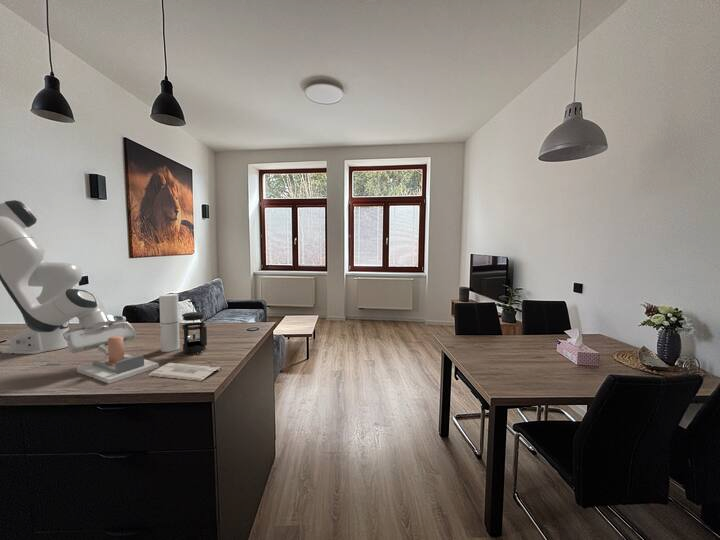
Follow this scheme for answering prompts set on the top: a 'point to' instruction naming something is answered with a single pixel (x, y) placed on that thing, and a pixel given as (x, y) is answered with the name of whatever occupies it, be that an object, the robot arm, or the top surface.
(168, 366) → the newspaper
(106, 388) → the top surface
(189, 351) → the french press
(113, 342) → the knob plunger
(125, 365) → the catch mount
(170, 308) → the cylindrical container
